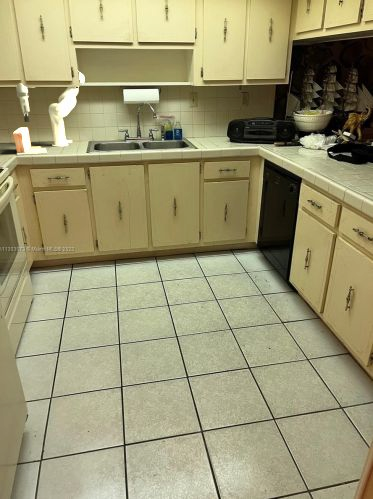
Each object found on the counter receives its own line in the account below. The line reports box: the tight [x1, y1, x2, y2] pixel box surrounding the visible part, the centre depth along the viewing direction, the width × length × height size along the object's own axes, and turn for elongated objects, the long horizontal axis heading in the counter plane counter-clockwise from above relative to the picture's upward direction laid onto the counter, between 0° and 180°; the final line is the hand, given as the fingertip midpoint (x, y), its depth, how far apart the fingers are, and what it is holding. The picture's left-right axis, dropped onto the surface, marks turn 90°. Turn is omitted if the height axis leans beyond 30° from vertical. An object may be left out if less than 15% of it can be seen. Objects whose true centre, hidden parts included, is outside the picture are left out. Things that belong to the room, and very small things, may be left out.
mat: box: [16, 146, 48, 156], centre depth 270 cm, size 20×25×2 cm
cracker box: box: [12, 127, 32, 154], centre depth 269 cm, size 14×6×21 cm
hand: (27, 121), depth 274 cm, fingers closed
